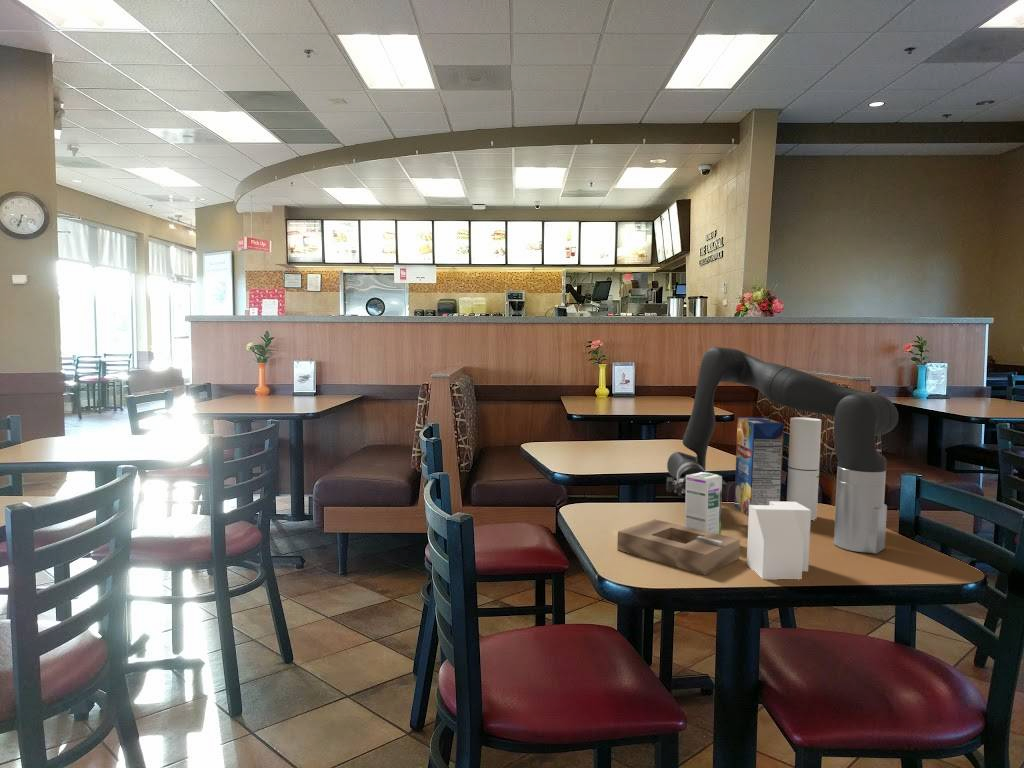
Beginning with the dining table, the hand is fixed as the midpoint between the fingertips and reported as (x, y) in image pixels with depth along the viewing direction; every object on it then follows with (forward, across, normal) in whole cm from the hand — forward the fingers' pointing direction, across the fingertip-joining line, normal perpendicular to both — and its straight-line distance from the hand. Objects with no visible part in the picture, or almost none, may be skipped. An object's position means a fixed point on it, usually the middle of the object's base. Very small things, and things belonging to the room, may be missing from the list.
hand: (699, 492), depth 153 cm
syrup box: (+9, 0, +9) cm, 12 cm away
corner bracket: (+26, +12, +9) cm, 30 cm away
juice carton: (-19, +17, +9) cm, 27 cm away
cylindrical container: (-16, +27, +9) cm, 33 cm away
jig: (+21, -6, +8) cm, 24 cm away
